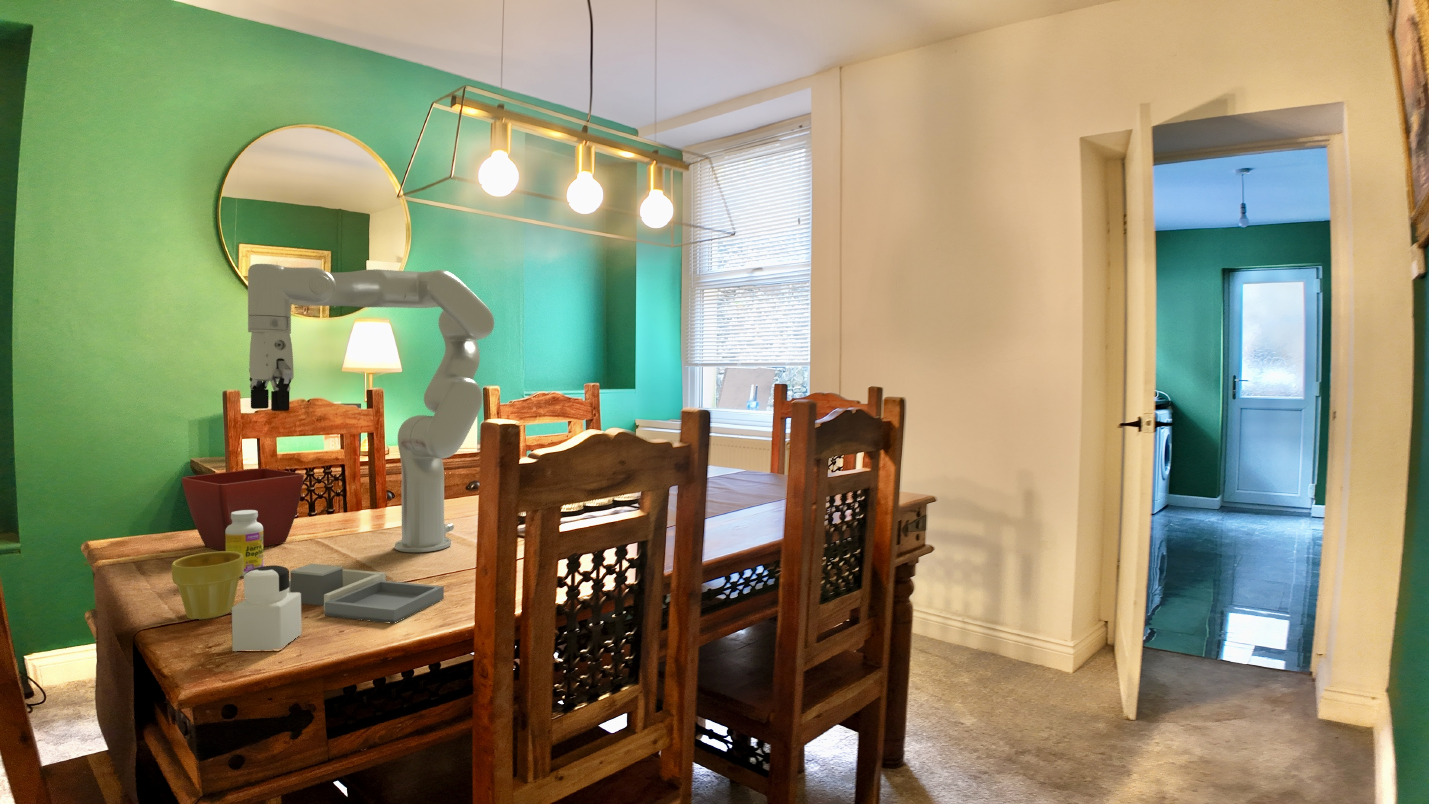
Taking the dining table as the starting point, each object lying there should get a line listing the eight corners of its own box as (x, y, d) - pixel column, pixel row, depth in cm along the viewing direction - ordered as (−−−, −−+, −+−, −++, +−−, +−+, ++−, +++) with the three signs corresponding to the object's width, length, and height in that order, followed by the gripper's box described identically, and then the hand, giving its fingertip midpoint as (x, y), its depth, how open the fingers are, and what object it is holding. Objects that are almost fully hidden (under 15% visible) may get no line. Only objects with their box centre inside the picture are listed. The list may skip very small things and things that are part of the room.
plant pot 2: (180, 628, 122) (179, 570, 121) (166, 613, 129) (165, 558, 129) (252, 613, 130) (251, 558, 129) (235, 600, 137) (234, 548, 136)
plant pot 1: (180, 547, 174) (179, 476, 173) (265, 532, 190) (264, 467, 189) (221, 559, 164) (220, 484, 163) (307, 542, 180) (306, 474, 179)
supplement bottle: (245, 578, 150) (244, 516, 149) (217, 576, 151) (216, 514, 151) (271, 569, 156) (270, 509, 156) (244, 567, 158) (243, 508, 157)
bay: (324, 581, 149) (323, 566, 149) (385, 587, 145) (385, 572, 145) (263, 604, 135) (262, 587, 134) (329, 611, 131) (329, 595, 131)
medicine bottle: (256, 635, 119) (255, 562, 119) (302, 635, 120) (301, 562, 119) (231, 653, 112) (229, 575, 112) (280, 652, 113) (279, 574, 112)
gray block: (311, 594, 141) (311, 563, 141) (342, 597, 139) (342, 566, 139) (290, 602, 136) (290, 570, 136) (322, 606, 134) (322, 573, 134)
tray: (379, 592, 142) (379, 580, 142) (443, 599, 139) (443, 586, 139) (325, 616, 129) (324, 602, 129) (394, 624, 126) (394, 610, 125)
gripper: (308, 326, 148) (308, 411, 149) (271, 327, 159) (271, 407, 159) (267, 323, 142) (268, 412, 143) (232, 325, 153) (232, 408, 154)
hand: (269, 409), depth 151 cm, fingers open, 9 cm apart
